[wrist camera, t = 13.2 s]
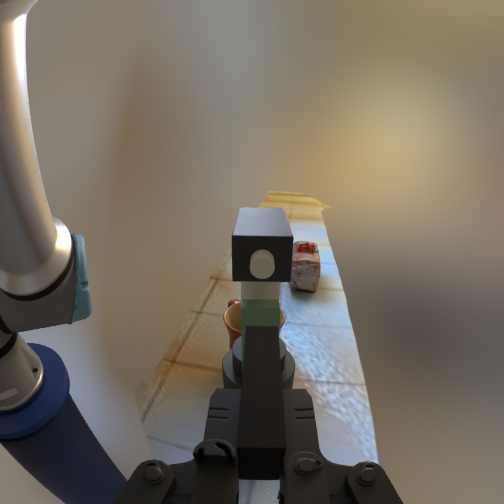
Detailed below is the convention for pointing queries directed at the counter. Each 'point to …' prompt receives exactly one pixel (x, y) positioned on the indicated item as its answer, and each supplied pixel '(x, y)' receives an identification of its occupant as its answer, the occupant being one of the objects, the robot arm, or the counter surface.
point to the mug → (239, 320)
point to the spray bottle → (260, 276)
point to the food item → (305, 266)
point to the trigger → (259, 315)
